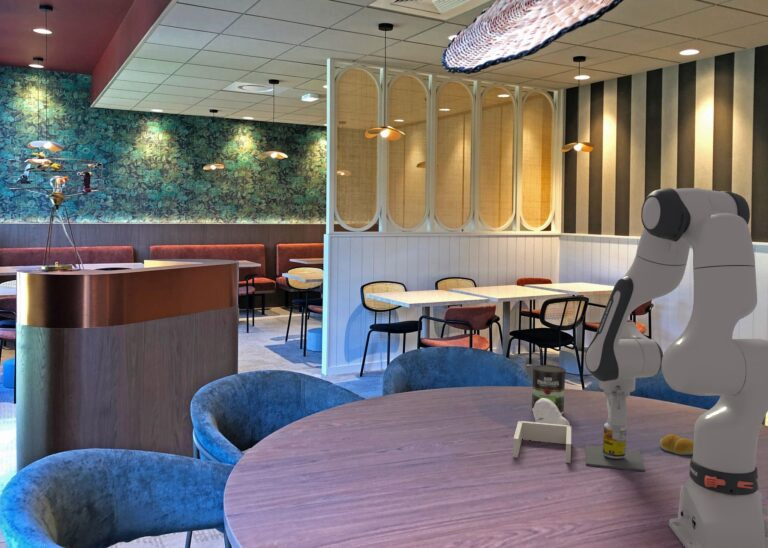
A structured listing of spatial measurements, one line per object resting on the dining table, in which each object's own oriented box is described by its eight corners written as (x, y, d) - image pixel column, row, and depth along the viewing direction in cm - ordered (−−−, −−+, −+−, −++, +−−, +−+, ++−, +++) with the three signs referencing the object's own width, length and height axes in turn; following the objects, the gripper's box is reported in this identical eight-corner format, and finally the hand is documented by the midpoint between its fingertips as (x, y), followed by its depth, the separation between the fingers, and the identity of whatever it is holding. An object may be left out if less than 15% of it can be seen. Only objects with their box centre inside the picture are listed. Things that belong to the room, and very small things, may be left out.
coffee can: (563, 417, 210) (565, 373, 208) (530, 414, 213) (531, 370, 211) (564, 408, 219) (566, 366, 218) (532, 405, 222) (533, 363, 221)
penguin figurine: (546, 394, 203) (577, 408, 193) (543, 421, 204) (574, 436, 194) (531, 397, 199) (562, 411, 190) (528, 424, 201) (559, 439, 191)
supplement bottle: (598, 453, 175) (599, 414, 174) (616, 451, 177) (618, 413, 176) (611, 460, 170) (613, 421, 169) (629, 458, 172) (631, 419, 171)
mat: (645, 471, 165) (645, 469, 165) (586, 465, 169) (586, 463, 169) (639, 452, 179) (639, 450, 178) (585, 447, 182) (585, 445, 182)
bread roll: (688, 458, 175) (689, 443, 175) (655, 449, 182) (656, 435, 182) (702, 451, 181) (703, 437, 180) (669, 442, 187) (670, 428, 187)
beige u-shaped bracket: (570, 463, 170) (571, 444, 170) (513, 457, 174) (513, 438, 174) (570, 443, 185) (571, 425, 185) (517, 438, 189) (518, 420, 189)
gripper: (633, 392, 161) (631, 448, 162) (626, 374, 181) (624, 424, 182) (605, 390, 163) (603, 446, 164) (602, 372, 182) (600, 422, 183)
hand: (614, 434), depth 173 cm, fingers closed on supplement bottle, 5 cm apart
